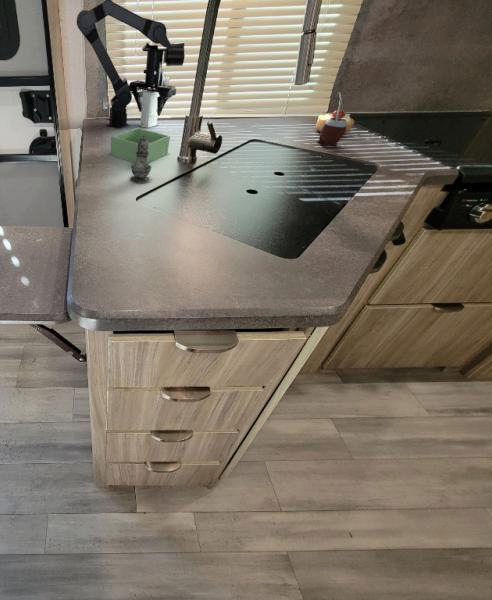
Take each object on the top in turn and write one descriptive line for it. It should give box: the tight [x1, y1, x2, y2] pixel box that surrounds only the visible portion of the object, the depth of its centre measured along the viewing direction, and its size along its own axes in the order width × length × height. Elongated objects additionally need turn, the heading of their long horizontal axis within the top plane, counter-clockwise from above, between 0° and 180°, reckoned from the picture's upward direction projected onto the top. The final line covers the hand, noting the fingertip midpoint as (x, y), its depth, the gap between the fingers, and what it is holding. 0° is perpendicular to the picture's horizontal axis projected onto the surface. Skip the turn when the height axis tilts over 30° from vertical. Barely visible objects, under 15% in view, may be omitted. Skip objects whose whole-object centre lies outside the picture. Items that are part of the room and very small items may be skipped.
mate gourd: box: [316, 91, 347, 148], centre depth 111 cm, size 8×8×15 cm
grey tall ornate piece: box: [130, 135, 153, 184], centre depth 90 cm, size 6×6×12 cm
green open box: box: [110, 127, 171, 164], centre depth 107 cm, size 14×14×6 cm
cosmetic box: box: [139, 90, 160, 129], centre depth 130 cm, size 6×4×12 cm
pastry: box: [316, 105, 355, 135], centre depth 123 cm, size 12×12×9 cm
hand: (149, 113), depth 131 cm, fingers open, 9 cm apart
